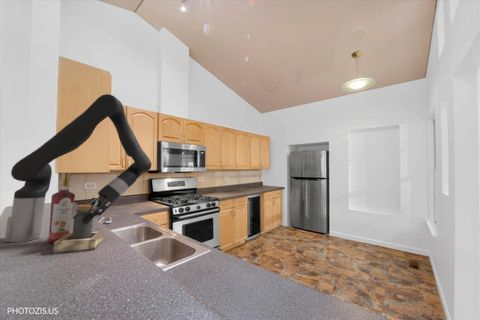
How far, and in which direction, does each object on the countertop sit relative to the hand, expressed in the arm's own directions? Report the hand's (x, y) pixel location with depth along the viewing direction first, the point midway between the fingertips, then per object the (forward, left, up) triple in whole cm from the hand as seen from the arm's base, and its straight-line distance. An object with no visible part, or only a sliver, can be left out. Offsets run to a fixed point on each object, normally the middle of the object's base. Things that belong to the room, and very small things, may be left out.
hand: (78, 221), depth 75 cm
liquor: (-9, +10, -10) cm, 16 cm away
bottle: (+1, +1, -9) cm, 9 cm away
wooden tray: (+1, +1, -10) cm, 10 cm away
